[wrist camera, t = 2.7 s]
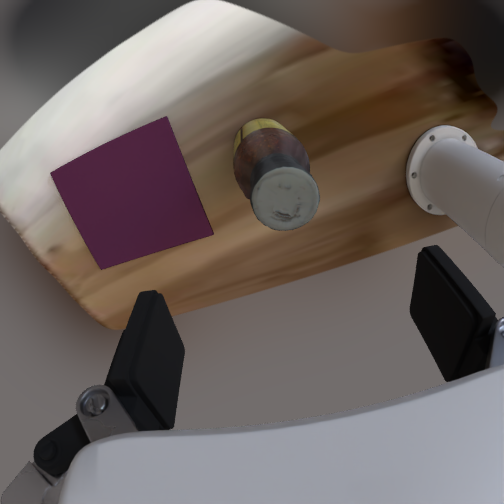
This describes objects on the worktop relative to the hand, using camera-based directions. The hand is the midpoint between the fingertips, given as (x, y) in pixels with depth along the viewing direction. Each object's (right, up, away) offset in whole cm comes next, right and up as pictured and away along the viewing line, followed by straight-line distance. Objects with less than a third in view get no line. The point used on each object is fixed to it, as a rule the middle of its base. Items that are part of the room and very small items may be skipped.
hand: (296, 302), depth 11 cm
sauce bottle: (0, +14, +25) cm, 29 cm away
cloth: (-17, +8, +28) cm, 34 cm away
